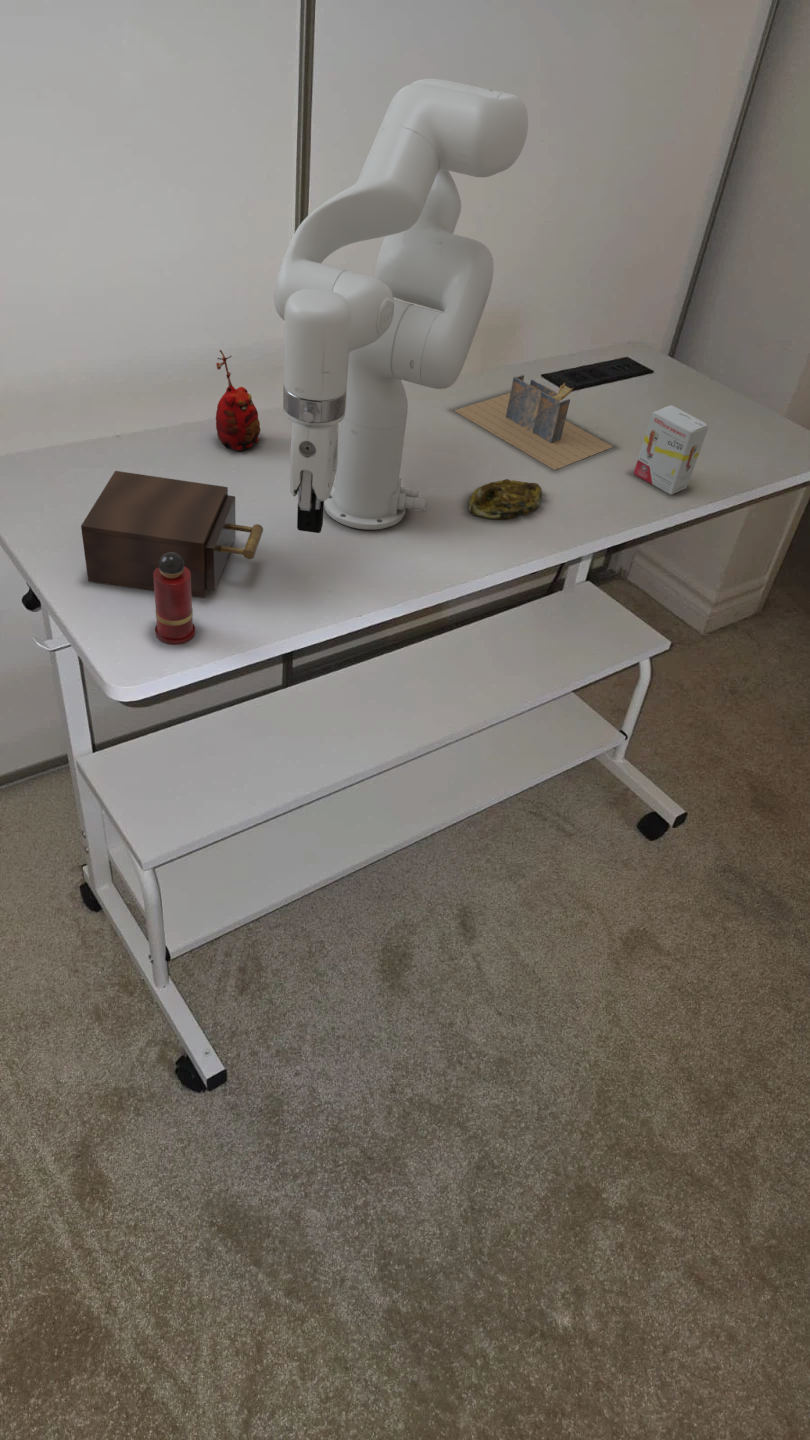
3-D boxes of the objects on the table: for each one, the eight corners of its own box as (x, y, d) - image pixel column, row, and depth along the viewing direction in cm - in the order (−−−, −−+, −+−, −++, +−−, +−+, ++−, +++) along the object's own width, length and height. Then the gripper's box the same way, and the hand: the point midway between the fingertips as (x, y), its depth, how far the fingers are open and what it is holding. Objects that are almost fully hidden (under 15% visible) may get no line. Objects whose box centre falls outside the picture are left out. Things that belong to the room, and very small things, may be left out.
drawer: (267, 542, 138) (268, 500, 133) (248, 596, 128) (249, 553, 123) (134, 523, 137) (130, 480, 133) (106, 575, 128) (100, 531, 123)
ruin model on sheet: (613, 446, 174) (628, 395, 168) (554, 470, 165) (567, 416, 159) (513, 391, 186) (523, 341, 180) (453, 410, 177) (462, 358, 171)
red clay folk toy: (246, 457, 156) (246, 367, 146) (207, 446, 157) (204, 356, 147) (266, 437, 162) (267, 350, 151) (228, 427, 163) (227, 339, 153)
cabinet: (228, 539, 138) (227, 486, 133) (204, 598, 128) (203, 543, 122) (120, 524, 138) (115, 470, 132) (88, 581, 128) (80, 525, 122)
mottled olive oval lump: (515, 483, 162) (451, 507, 154) (518, 457, 159) (454, 479, 151) (557, 503, 157) (494, 528, 149) (561, 476, 154) (497, 500, 146)
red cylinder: (199, 623, 124) (196, 545, 116) (190, 647, 120) (186, 569, 112) (161, 617, 124) (155, 539, 116) (150, 641, 120) (143, 562, 112)
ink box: (631, 473, 168) (651, 409, 159) (648, 466, 170) (669, 403, 162) (670, 496, 163) (692, 431, 155) (687, 488, 166) (710, 424, 158)
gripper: (337, 435, 111) (329, 565, 123) (353, 376, 121) (345, 502, 134) (272, 426, 110) (271, 557, 123) (294, 368, 121) (291, 494, 134)
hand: (309, 528), depth 129 cm, fingers closed
